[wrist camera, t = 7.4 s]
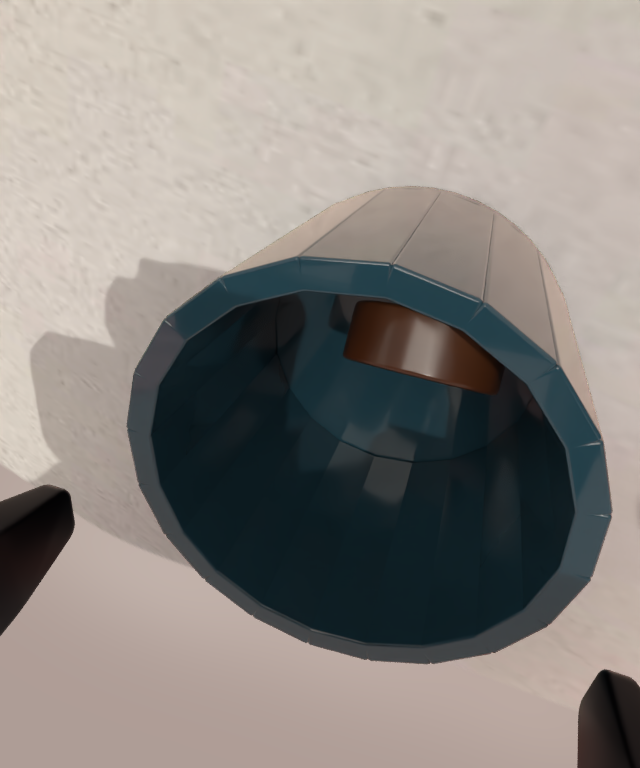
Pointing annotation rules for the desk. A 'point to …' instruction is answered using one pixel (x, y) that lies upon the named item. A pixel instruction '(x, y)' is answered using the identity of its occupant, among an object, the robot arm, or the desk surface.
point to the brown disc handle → (419, 348)
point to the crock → (377, 437)
